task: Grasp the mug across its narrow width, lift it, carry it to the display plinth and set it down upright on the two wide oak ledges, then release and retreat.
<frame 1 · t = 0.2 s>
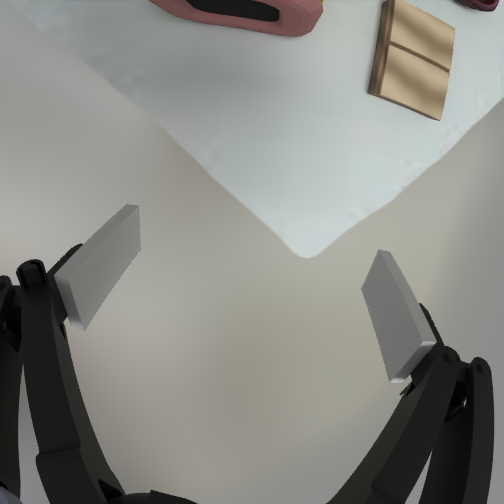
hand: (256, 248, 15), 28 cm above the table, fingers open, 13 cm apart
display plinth: (409, 59, 28), on the table
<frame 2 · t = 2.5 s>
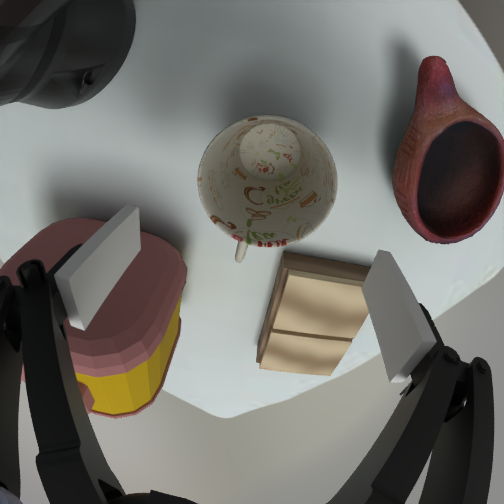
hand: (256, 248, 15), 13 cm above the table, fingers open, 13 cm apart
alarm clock: (125, 257, 32), on the table
mug: (264, 172, 26), on the table
bowl: (421, 153, 23), on the table
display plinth: (311, 312, 34), on the table
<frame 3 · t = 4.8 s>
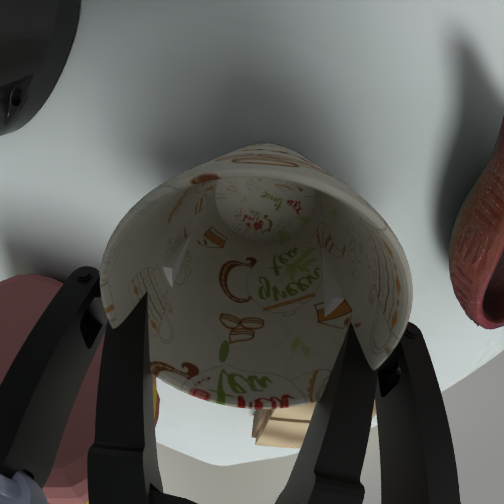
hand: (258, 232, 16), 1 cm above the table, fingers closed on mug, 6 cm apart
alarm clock: (90, 320, 24), on the table
mug: (256, 227, 17), point 1 cm above the table, touching gripper
bowl: (480, 200, 15), on the table
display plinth: (319, 389, 26), on the table
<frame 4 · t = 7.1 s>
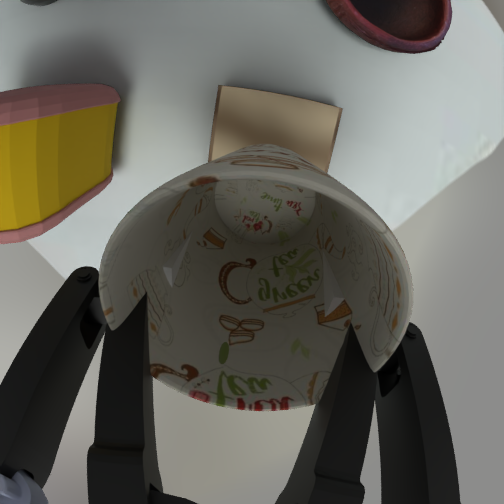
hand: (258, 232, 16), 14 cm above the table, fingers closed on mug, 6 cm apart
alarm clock: (73, 125, 26), on the table
mug: (255, 228, 17), point 14 cm above the table, touching gripper
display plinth: (266, 169, 28), on the table
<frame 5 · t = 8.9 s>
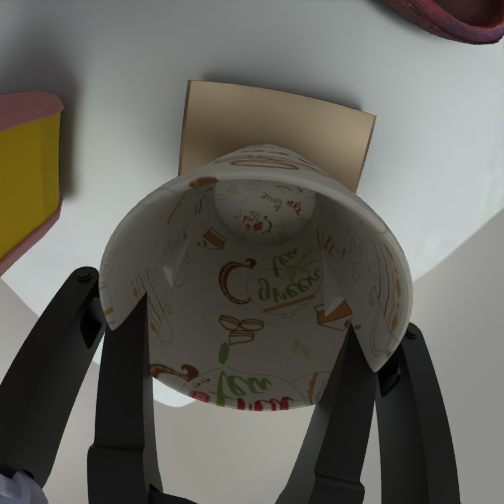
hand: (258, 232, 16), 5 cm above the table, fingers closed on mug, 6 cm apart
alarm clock: (22, 143, 19), on the table
mug: (255, 228, 17), point 4 cm above the table, touching gripper
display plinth: (262, 200, 20), on the table
when the fingers open (4 cm above the table, at t = 9.4 s): mug stays where it is, resting on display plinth.
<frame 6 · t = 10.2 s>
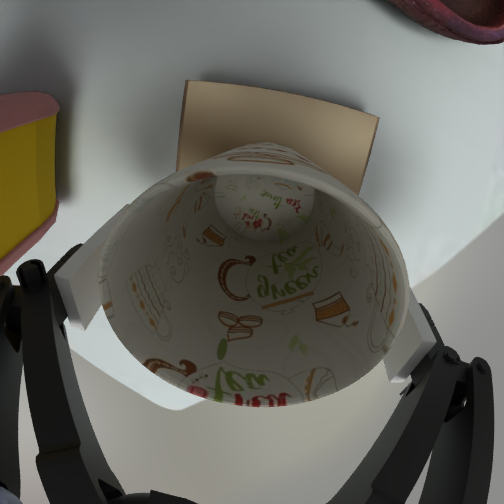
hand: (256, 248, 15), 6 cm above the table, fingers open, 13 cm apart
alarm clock: (19, 145, 18), on the table
mug: (255, 226, 17), point 4 cm above the table, touching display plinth
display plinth: (262, 204, 20), on the table
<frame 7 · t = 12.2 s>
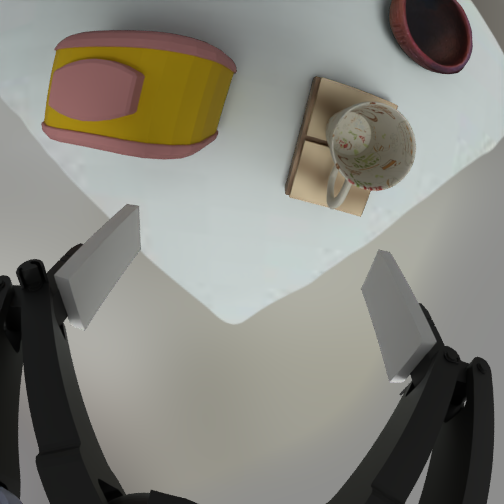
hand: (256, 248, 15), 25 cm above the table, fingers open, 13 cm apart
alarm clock: (170, 88, 33), on the table
mug: (343, 148, 32), point 4 cm above the table, touching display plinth
bowl: (409, 25, 24), on the table
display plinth: (338, 144, 35), on the table
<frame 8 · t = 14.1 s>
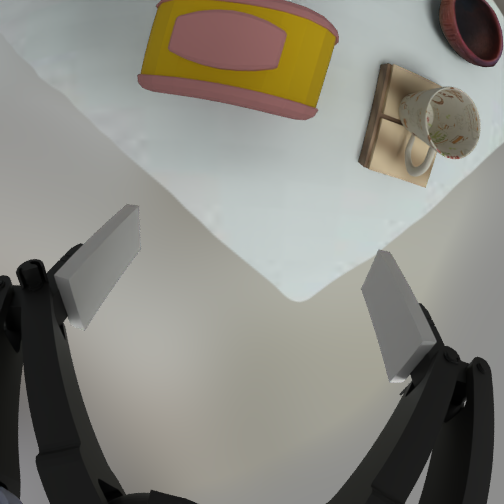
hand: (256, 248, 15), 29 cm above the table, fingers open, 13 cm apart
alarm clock: (248, 64, 33), on the table
mug: (411, 126, 31), point 4 cm above the table, touching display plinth
bowl: (451, 24, 23), on the table
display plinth: (402, 124, 35), on the table
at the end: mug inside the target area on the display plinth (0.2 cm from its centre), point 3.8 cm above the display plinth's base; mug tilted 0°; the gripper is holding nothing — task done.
